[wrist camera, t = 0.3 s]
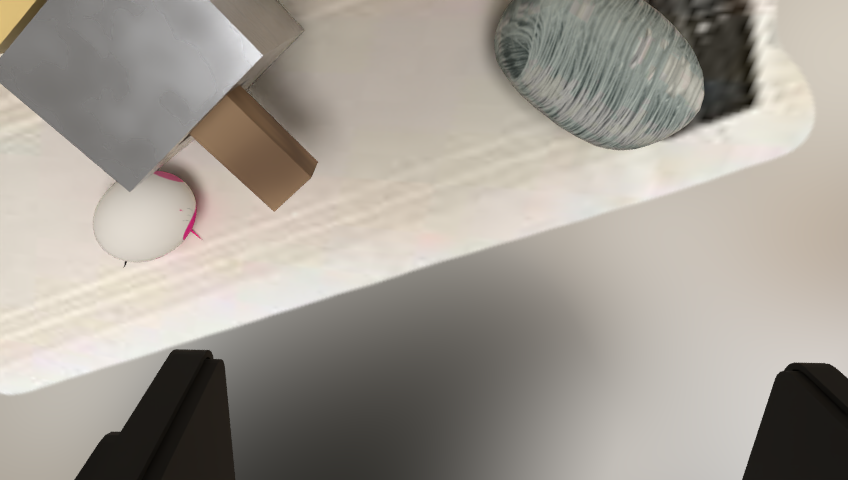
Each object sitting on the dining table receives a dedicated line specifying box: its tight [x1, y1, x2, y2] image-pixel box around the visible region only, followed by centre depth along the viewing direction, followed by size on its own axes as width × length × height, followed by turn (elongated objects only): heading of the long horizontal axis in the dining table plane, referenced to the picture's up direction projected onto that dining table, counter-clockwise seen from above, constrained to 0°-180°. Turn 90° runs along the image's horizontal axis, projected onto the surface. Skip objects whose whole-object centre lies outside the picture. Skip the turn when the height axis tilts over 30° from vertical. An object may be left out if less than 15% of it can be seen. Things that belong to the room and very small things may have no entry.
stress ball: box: [93, 171, 201, 267], centre depth 44 cm, size 8×8×7 cm
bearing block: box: [0, 0, 304, 192], centre depth 34 cm, size 8×10×14 cm
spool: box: [494, 0, 704, 150], centre depth 39 cm, size 14×10×10 cm
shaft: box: [189, 85, 318, 212], centre depth 32 cm, size 19×3×3 cm, turn 42°
